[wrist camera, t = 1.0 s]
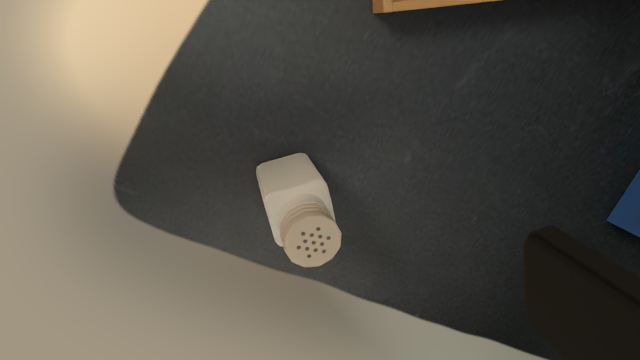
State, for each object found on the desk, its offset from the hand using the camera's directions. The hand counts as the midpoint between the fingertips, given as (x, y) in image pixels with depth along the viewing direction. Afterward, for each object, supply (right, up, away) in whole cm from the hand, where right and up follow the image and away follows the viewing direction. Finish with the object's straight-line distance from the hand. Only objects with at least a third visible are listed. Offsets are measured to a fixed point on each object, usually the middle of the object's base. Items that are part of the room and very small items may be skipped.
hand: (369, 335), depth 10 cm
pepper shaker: (-4, +4, +20) cm, 21 cm away
